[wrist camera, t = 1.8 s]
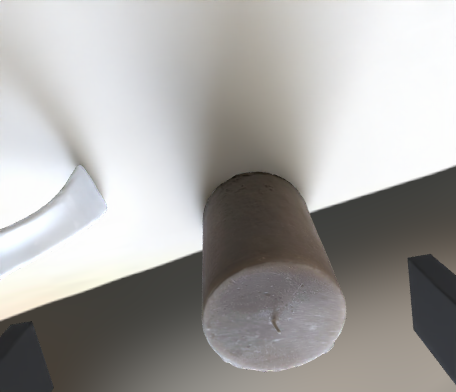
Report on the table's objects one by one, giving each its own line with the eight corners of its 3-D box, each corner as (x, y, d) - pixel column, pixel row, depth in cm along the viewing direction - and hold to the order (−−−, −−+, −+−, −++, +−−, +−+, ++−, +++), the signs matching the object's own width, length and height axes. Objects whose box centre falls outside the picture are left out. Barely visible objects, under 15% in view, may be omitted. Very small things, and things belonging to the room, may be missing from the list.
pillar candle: (232, 153, 38) (244, 248, 25) (326, 197, 40) (385, 306, 27) (185, 240, 42) (174, 363, 28) (274, 275, 44) (302, 405, 30)
